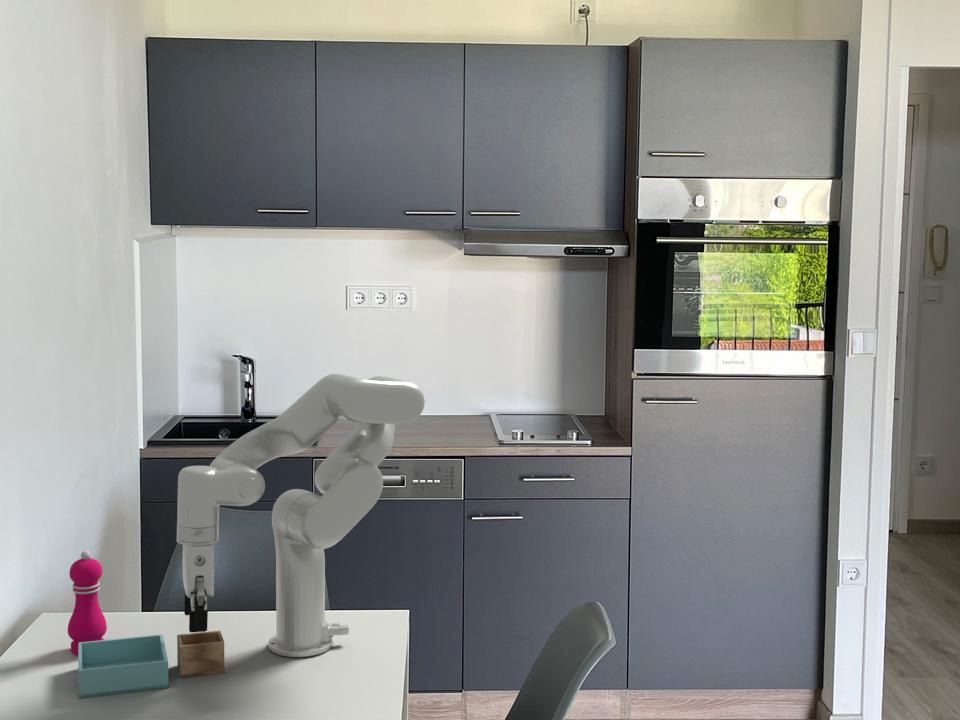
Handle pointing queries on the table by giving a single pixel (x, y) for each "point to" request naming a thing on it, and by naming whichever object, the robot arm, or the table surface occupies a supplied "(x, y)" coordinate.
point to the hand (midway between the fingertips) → (195, 622)
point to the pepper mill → (86, 602)
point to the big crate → (122, 665)
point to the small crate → (200, 654)
